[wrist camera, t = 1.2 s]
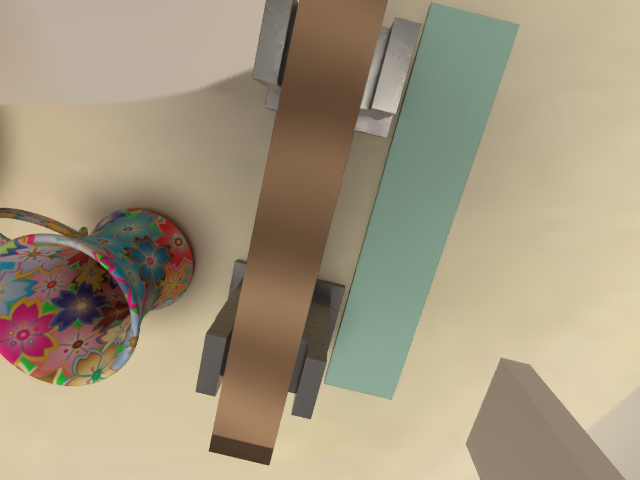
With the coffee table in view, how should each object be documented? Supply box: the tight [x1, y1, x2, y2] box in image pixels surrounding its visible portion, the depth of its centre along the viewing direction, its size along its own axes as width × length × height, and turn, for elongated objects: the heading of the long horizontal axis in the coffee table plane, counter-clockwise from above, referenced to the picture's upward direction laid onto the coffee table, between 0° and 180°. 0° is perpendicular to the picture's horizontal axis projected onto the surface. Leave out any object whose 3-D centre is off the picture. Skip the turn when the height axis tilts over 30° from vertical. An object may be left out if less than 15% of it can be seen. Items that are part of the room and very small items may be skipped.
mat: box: [324, 3, 519, 400], centre depth 30 cm, size 30×6×1 cm, turn 167°
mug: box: [0, 208, 193, 386], centre depth 27 cm, size 12×9×11 cm
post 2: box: [196, 260, 345, 419], centre depth 28 cm, size 6×9×10 cm, turn 77°
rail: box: [209, 0, 388, 465], centre depth 21 cm, size 26×4×4 cm, turn 167°
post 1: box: [252, 0, 421, 138], centre depth 23 cm, size 6×9×10 cm, turn 76°
